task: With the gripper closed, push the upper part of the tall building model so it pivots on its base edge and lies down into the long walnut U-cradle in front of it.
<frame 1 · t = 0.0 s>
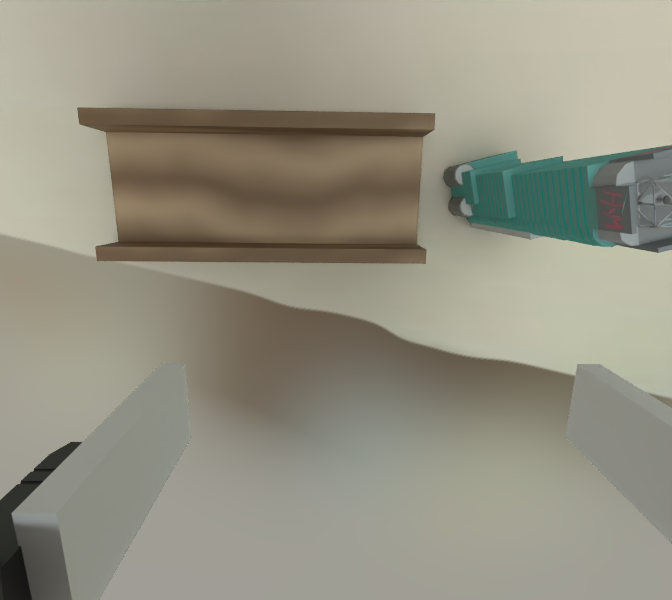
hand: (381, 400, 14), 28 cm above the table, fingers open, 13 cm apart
building: (477, 193, 40), on the table
cradle: (269, 190, 39), on the table
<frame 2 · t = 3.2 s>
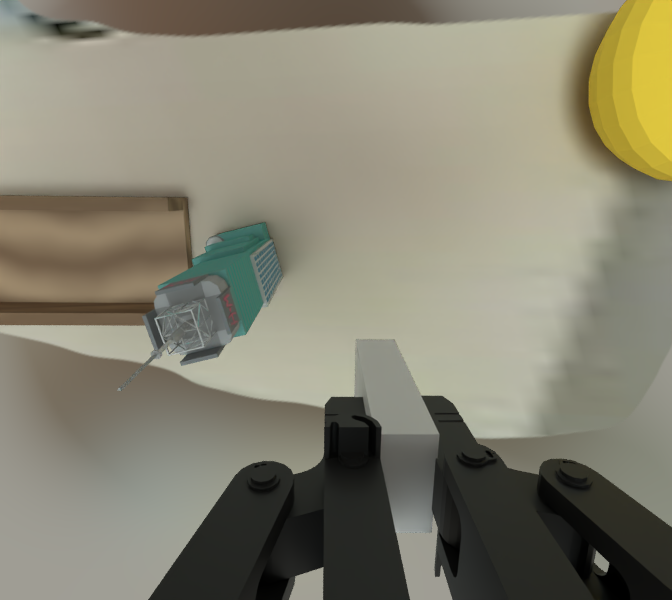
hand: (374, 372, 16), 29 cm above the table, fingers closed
building: (248, 255, 44), on the table
cradle: (57, 254, 43), on the table
vase: (645, 89, 41), on the table
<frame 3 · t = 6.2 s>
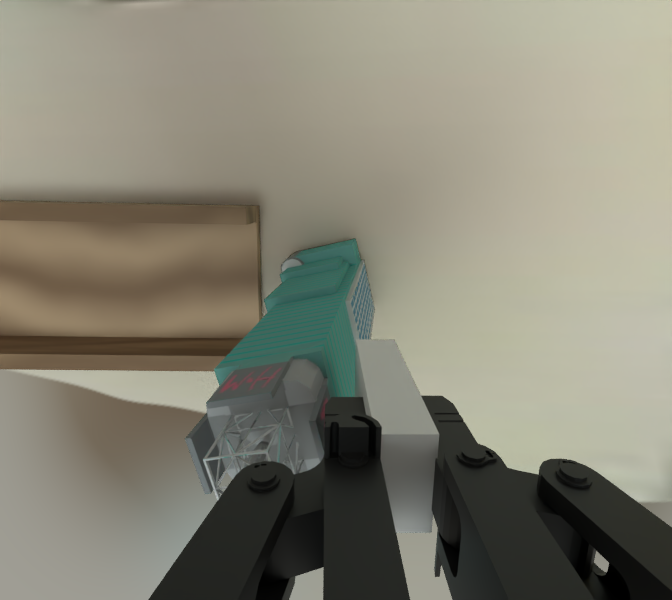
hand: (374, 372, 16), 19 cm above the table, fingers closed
building: (332, 280, 34), on the table, touching gripper
cradle: (92, 276, 34), on the table
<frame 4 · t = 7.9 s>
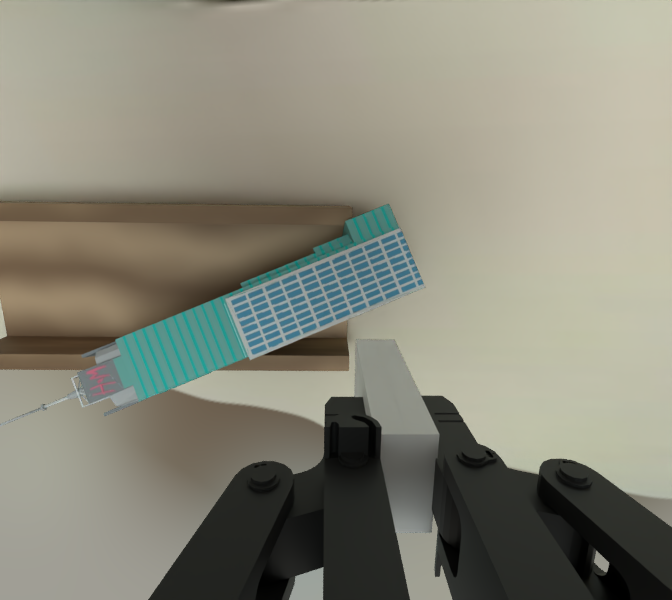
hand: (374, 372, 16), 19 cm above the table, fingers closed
building: (401, 251, 30), point 5 cm above the table, touching cradle
cradle: (180, 277, 35), on the table
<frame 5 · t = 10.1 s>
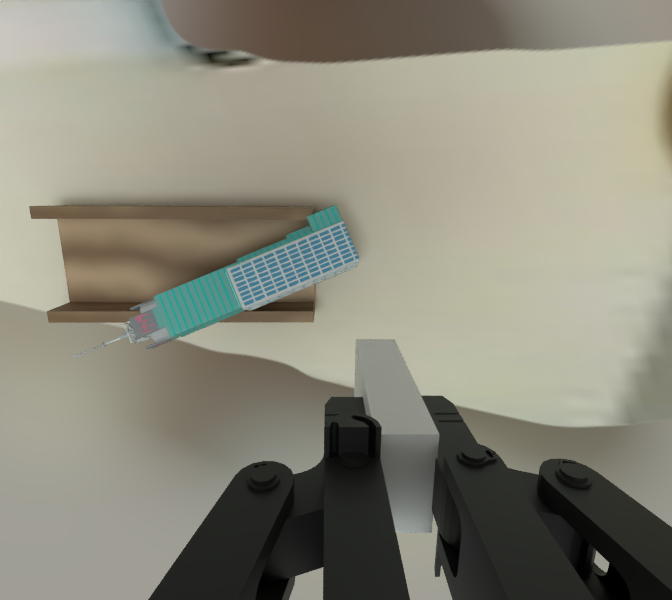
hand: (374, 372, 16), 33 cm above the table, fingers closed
building: (348, 237, 43), point 5 cm above the table, touching cradle
cradle: (193, 259, 48), on the table
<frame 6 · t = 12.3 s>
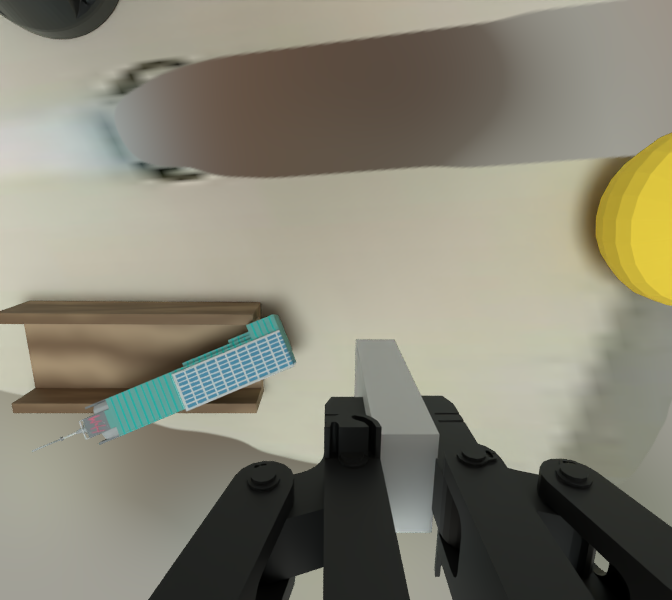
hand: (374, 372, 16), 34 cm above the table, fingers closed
building: (287, 338, 47), point 5 cm above the table, touching cradle
cradle: (150, 347, 52), on the table
vase: (642, 215, 49), on the table
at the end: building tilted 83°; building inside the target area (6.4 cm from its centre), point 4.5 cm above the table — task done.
